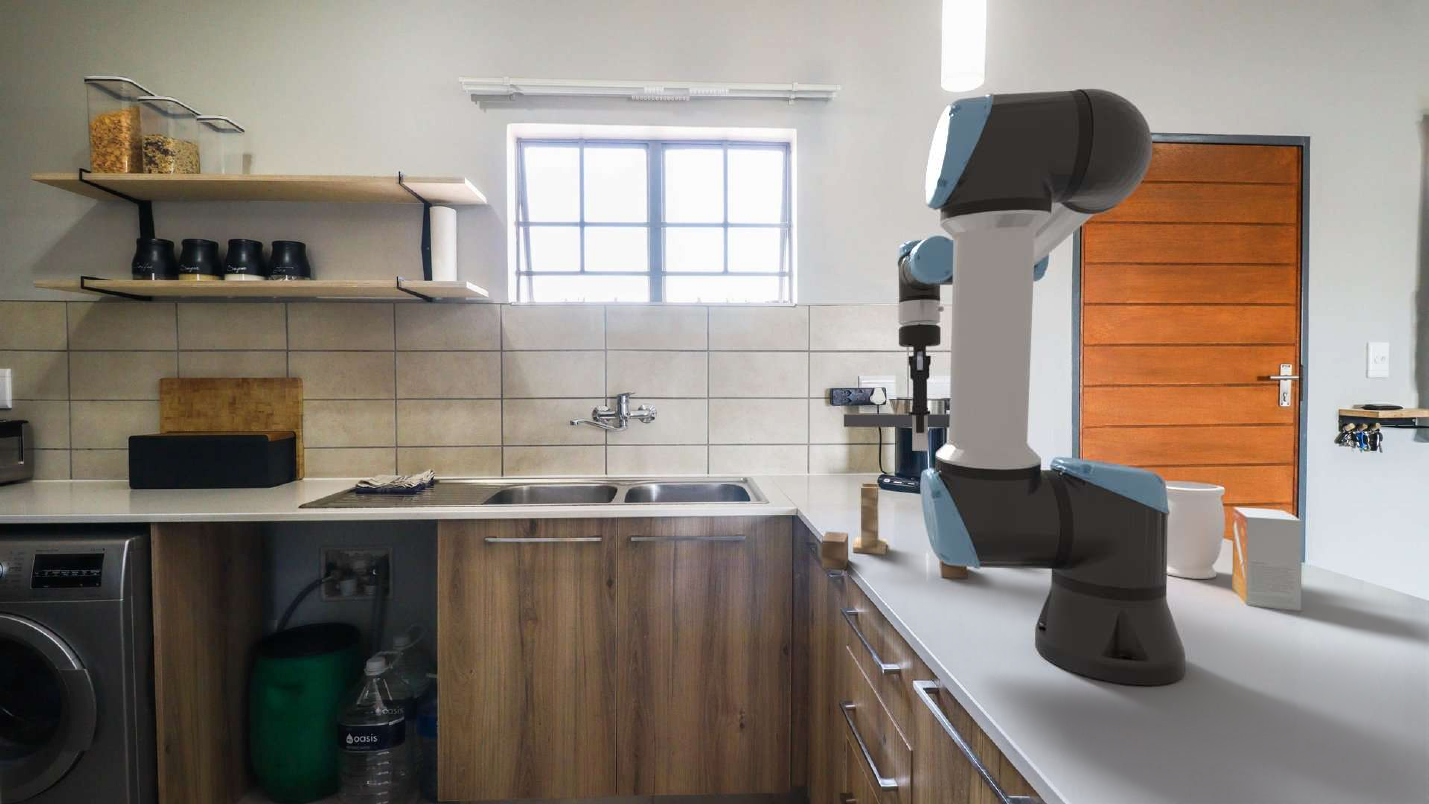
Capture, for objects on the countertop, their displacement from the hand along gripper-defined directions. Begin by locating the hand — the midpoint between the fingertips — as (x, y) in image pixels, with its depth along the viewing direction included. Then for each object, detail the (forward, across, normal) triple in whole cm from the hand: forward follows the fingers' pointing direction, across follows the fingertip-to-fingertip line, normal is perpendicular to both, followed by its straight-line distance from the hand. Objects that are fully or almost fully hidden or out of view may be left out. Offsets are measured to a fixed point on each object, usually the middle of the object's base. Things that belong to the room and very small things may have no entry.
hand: (919, 449), depth 121 cm
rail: (-4, 0, 0) cm, 4 cm away
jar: (+20, 0, -43) cm, 47 cm away
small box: (+21, -12, -49) cm, 54 cm away
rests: (+20, -10, +5) cm, 23 cm away
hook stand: (+20, +3, -1) cm, 20 cm away
